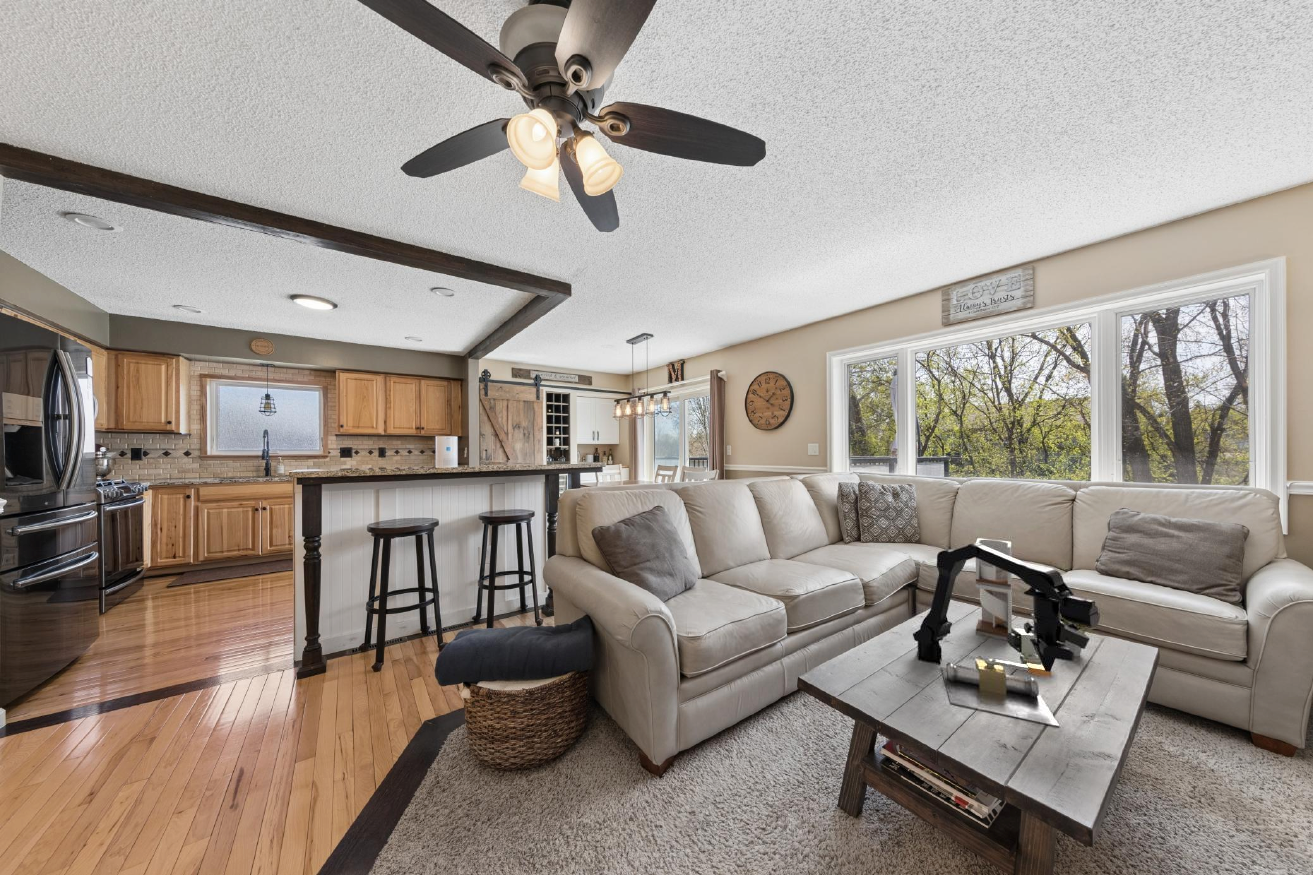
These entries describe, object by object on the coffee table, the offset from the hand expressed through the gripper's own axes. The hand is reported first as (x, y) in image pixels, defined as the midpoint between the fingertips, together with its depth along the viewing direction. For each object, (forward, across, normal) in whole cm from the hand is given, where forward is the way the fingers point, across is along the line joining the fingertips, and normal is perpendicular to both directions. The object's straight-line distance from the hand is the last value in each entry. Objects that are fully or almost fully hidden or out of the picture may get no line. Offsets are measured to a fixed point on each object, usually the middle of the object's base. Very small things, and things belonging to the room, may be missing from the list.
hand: (1047, 670), depth 125 cm
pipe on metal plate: (+11, +3, +12) cm, 16 cm away
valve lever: (+4, +6, +6) cm, 9 cm away
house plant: (+11, +45, -19) cm, 50 cm away
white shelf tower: (+11, +55, +2) cm, 56 cm away
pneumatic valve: (+11, +30, -3) cm, 32 cm away
